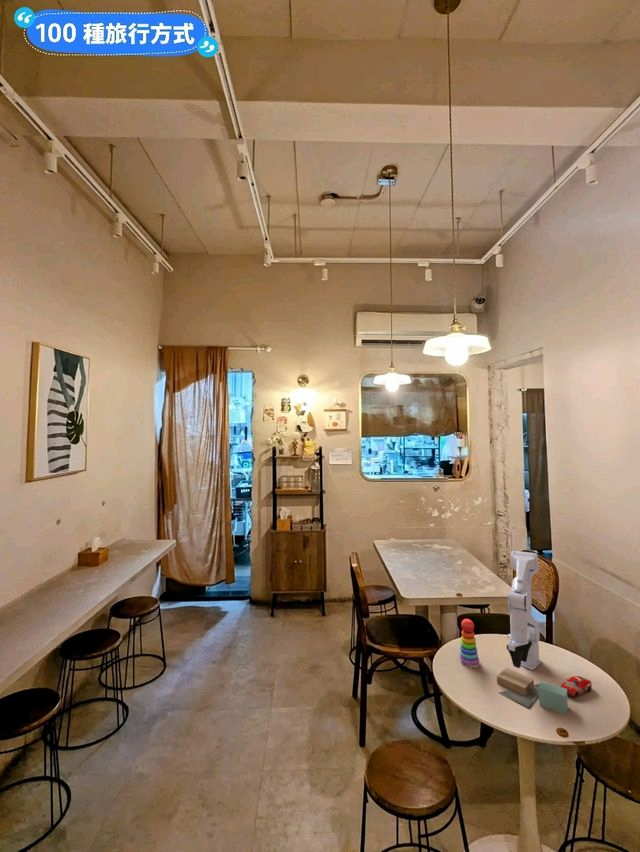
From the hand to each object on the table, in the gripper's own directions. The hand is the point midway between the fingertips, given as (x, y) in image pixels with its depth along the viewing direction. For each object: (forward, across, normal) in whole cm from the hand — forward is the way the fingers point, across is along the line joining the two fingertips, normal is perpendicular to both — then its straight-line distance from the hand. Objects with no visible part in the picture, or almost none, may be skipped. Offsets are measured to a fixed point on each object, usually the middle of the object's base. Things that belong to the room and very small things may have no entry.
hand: (519, 663), depth 146 cm
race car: (+11, -10, +14) cm, 21 cm away
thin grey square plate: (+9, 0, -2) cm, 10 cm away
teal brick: (+10, +1, +11) cm, 15 cm away
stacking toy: (+10, -1, -20) cm, 23 cm away
